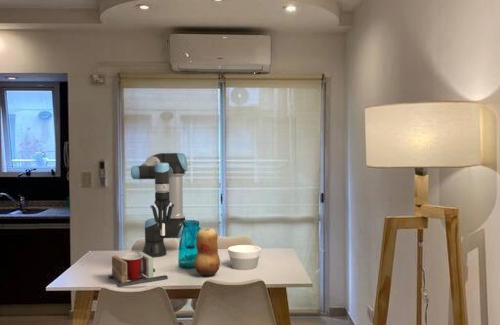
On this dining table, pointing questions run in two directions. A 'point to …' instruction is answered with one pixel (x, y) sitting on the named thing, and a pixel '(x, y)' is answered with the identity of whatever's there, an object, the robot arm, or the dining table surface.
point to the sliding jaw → (146, 265)
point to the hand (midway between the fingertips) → (162, 235)
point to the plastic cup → (133, 265)
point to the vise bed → (121, 275)
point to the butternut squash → (207, 252)
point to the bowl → (244, 256)
